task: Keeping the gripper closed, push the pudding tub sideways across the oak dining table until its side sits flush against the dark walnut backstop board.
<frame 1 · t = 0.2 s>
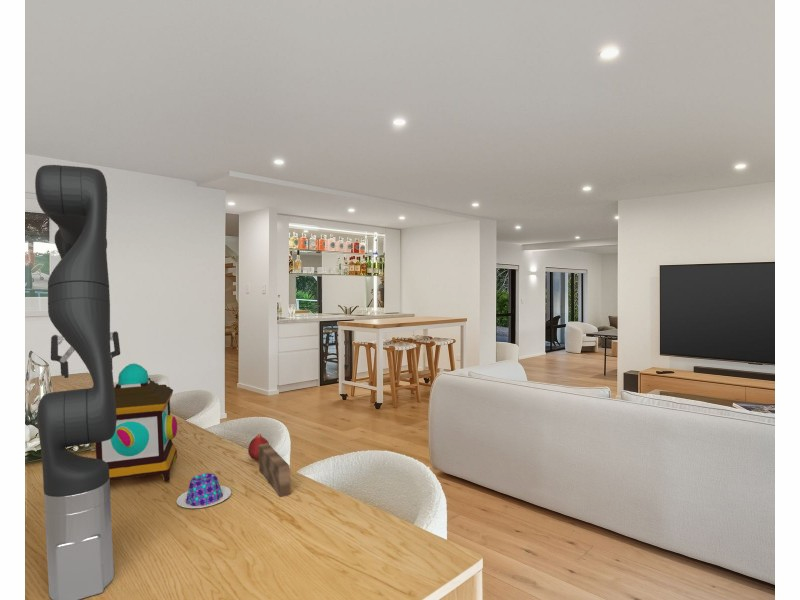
hand: (87, 375, 119), 29 cm above the table, tool pointing down, fingers open, 8 cm apart
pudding: (204, 500, 115), on the table
decorative lantern: (137, 476, 129), on the table
walnut board: (273, 481, 123), on the table
onion: (259, 462, 137), on the table
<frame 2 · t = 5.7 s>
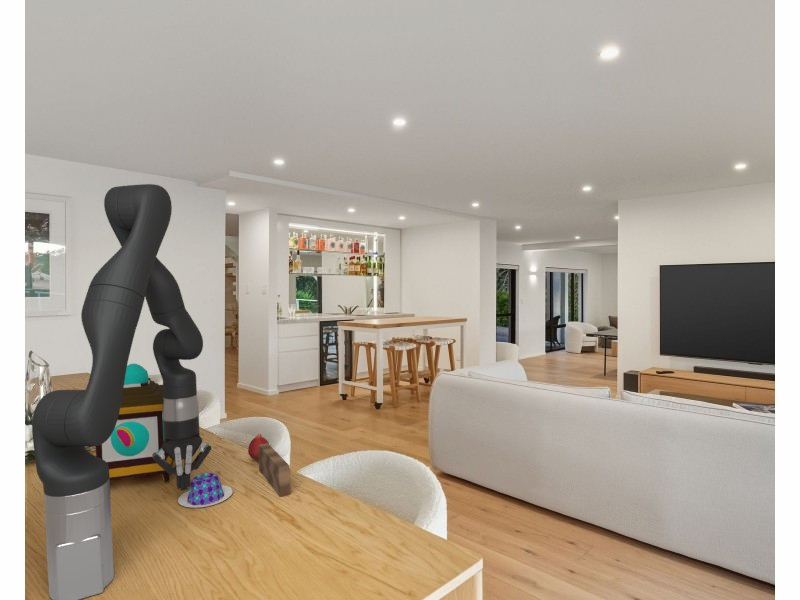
hand: (183, 489, 112), 3 cm above the table, tool pointing down, fingers closed
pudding: (206, 499, 115), on the table, touching gripper
everything else where it was.
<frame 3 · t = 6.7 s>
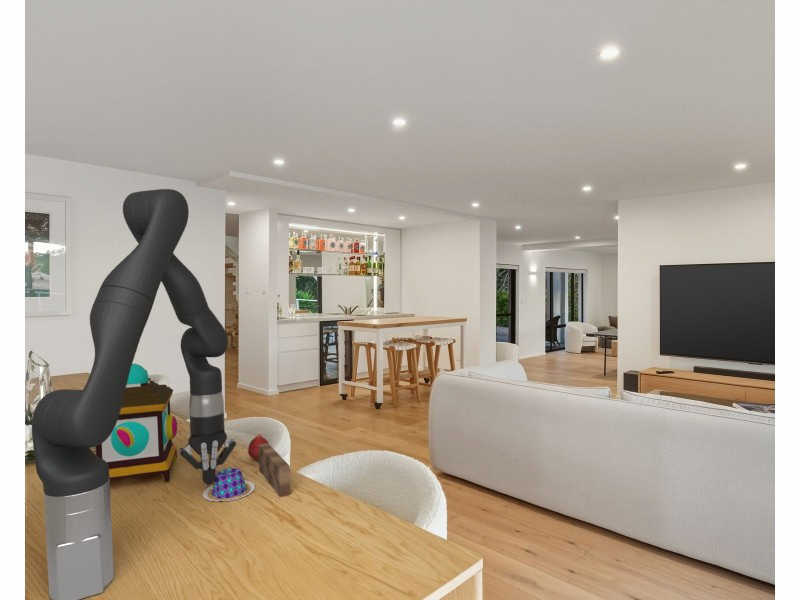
hand: (209, 483, 115), 3 cm above the table, tool pointing down, fingers closed
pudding: (229, 493, 118), on the table, touching gripper
everything else where it was.
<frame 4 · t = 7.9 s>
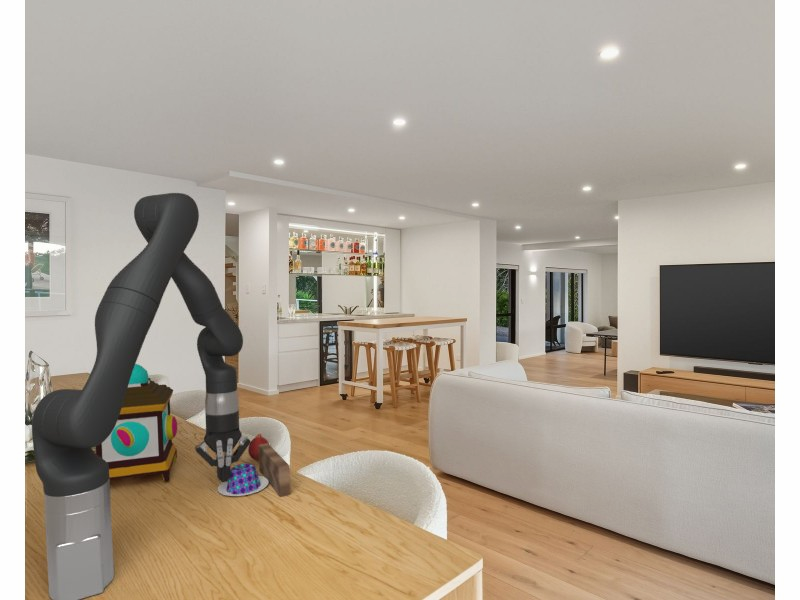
hand: (224, 480, 117), 3 cm above the table, tool pointing down, fingers closed
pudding: (243, 488, 120), on the table
everything else where it was.
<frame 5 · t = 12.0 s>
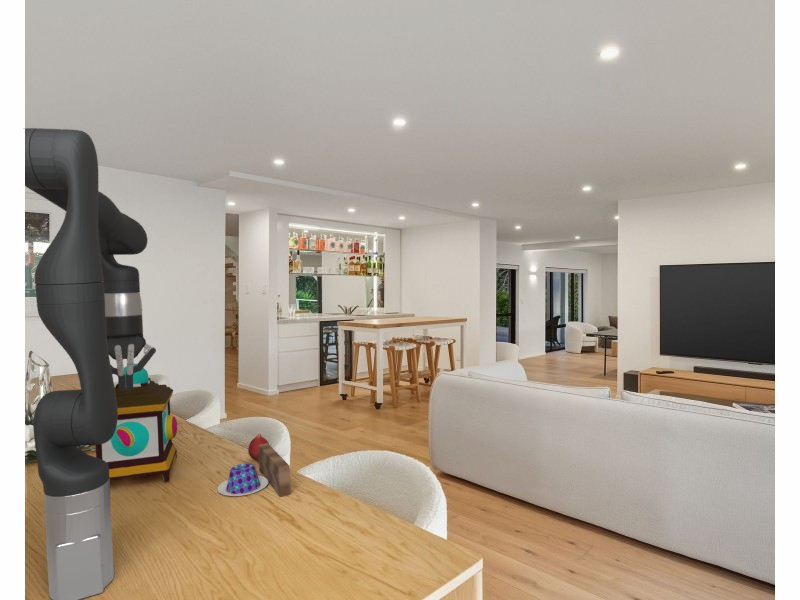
hand: (126, 391, 108), 27 cm above the table, tool pointing down, fingers closed
nothing on the table moved.
at the end: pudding 1.4 cm from the target spot on the table beside the walnut board, on the table; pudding tilted 0° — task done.
